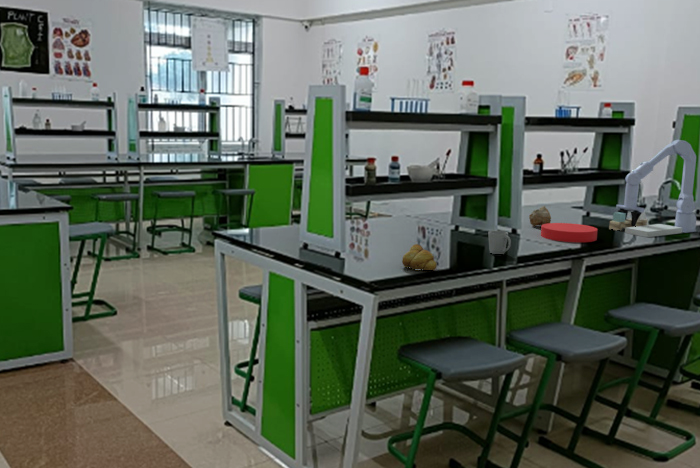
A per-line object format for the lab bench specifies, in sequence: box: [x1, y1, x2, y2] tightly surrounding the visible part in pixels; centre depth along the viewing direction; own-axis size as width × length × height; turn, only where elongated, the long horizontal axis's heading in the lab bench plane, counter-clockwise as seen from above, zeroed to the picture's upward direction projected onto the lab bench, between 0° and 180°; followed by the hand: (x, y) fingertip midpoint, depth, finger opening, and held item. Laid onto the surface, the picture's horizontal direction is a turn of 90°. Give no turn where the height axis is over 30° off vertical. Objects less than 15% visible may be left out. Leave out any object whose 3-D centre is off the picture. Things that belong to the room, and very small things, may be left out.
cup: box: [488, 230, 512, 255], centre depth 259 cm, size 8×10×8 cm
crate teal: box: [612, 211, 627, 222], centre depth 321 cm, size 4×4×4 cm
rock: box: [528, 206, 552, 227], centre depth 326 cm, size 12×10×10 cm
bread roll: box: [401, 243, 437, 271], centre depth 231 cm, size 13×10×8 cm
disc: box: [540, 222, 598, 243], centre depth 299 cm, size 24×5×24 cm
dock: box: [624, 223, 683, 238], centre depth 314 cm, size 26×12×2 cm, turn 121°
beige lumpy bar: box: [608, 218, 648, 231], centre depth 326 cm, size 22×5×4 cm, turn 121°
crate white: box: [632, 210, 646, 220], centre depth 329 cm, size 4×4×4 cm
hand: (628, 225), depth 326 cm, fingers closed on beige lumpy bar, 5 cm apart
